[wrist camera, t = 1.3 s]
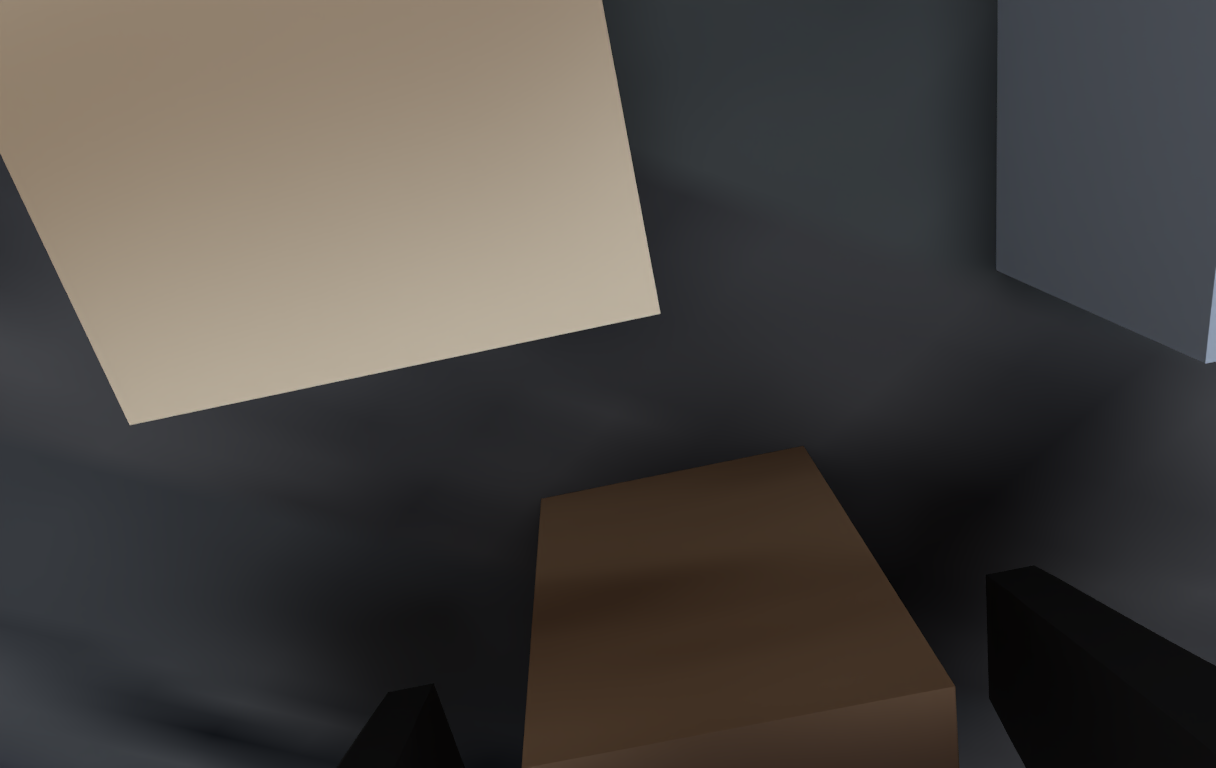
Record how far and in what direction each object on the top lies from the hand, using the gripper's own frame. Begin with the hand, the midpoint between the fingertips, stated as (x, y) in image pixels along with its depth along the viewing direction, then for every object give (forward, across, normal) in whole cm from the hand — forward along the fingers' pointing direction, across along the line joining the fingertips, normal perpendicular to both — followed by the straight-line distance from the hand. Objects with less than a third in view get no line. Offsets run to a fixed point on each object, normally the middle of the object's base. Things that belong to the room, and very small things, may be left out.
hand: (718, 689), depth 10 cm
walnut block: (+2, 0, 0) cm, 3 cm away
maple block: (+2, +2, -8) cm, 9 cm away
